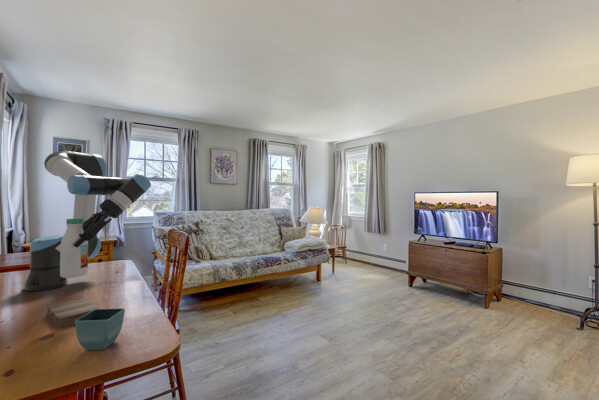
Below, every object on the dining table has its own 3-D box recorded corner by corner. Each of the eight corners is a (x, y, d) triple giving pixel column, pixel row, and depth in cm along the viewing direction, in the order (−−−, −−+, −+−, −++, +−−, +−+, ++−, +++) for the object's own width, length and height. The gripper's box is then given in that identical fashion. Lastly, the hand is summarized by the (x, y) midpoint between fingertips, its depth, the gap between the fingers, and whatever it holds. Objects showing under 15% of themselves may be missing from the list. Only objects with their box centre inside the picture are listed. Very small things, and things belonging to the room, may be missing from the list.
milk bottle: (72, 279, 95) (73, 219, 95) (53, 277, 97) (54, 219, 97) (93, 273, 103) (93, 218, 103) (75, 272, 104) (76, 217, 104)
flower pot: (94, 338, 84) (94, 308, 84) (125, 337, 84) (125, 307, 85) (72, 354, 75) (73, 320, 75) (107, 353, 76) (108, 320, 76)
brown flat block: (47, 315, 100) (47, 306, 100) (84, 306, 109) (85, 298, 109) (59, 328, 90) (59, 318, 90) (99, 317, 99) (99, 308, 99)
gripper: (133, 212, 106) (80, 263, 93) (113, 211, 118) (63, 255, 105) (118, 198, 102) (59, 249, 89) (98, 198, 114) (44, 242, 101)
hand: (61, 252), depth 97 cm, fingers closed on milk bottle, 7 cm apart
